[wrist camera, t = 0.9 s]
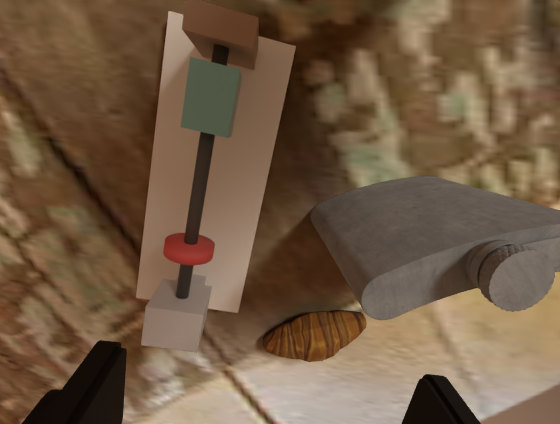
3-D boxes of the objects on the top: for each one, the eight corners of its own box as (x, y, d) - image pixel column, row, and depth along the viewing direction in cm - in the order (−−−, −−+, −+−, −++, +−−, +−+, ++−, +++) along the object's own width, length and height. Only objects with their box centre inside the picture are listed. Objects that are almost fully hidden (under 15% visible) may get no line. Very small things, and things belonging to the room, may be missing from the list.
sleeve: (199, 66, 25) (190, 56, 21) (242, 77, 25) (239, 69, 22) (190, 127, 26) (180, 127, 22) (231, 136, 26) (227, 137, 23)
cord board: (172, 15, 28) (131, -40, 19) (294, 49, 29) (311, 14, 20) (139, 292, 35) (99, 349, 26) (238, 307, 37) (232, 365, 28)
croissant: (358, 290, 38) (373, 313, 33) (365, 333, 40) (380, 361, 35) (256, 315, 38) (256, 342, 33) (268, 357, 40) (270, 388, 35)
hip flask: (313, 231, 35) (381, 355, 16) (306, 199, 34) (371, 291, 15) (442, 198, 35) (666, 283, 16) (439, 165, 34) (677, 213, 15)
